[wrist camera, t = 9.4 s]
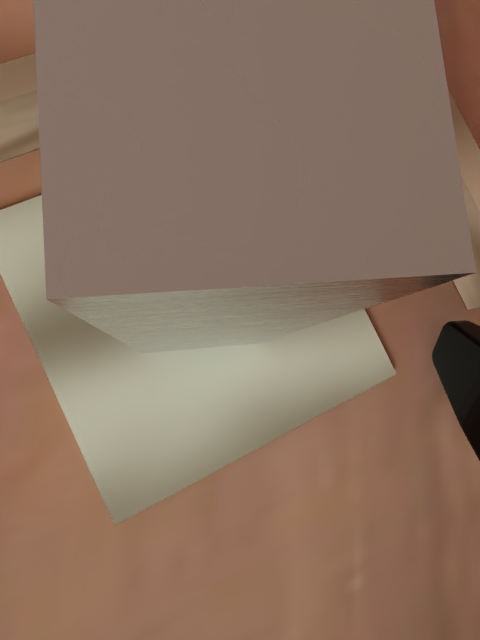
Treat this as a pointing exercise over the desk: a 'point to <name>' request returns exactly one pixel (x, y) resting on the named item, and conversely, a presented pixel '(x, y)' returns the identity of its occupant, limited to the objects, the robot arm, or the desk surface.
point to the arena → (182, 353)
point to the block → (243, 164)
